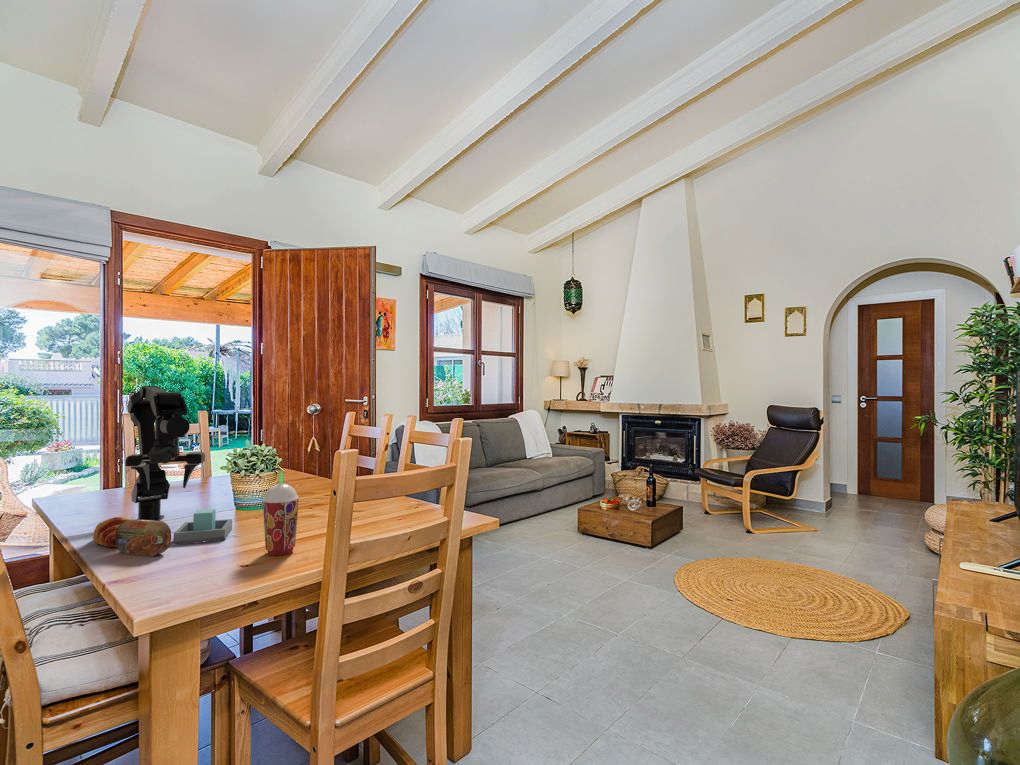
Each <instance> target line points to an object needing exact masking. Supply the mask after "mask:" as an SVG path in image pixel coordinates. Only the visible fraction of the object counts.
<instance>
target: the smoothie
mask: <svg viewBox="0 0 1020 765" xmlns="http://www.w3.org/2000/svg"><path fill="white" fill-rule="evenodd" d="M283 475H284V473H283V472H280V473H279V483H277V484H275V485H272V486H271V487H270V488H269V489H268V490H267V491H266V493H265V495H264V497H263V498H262V505H263V526H264V542H265V543H264V546H265V550H266V551H267V554H268V555H269V556H272V555H273V557H274V555H275V557H278V556H277V555H281V556H286V555H288V554H291V553H292V552H293V550H294V548H295V547H296V540H297V539H296V538H297V537H296V536H297V526H298V525H297V524H298V513H299V499H300V497H299V495H298V493H297V491H296V490H295V488H294V487H293V486H291V485H290V484H287V483H283V482H284V480H283V479H284V478H283V477H284V476H283ZM285 554H286V555H285Z"/></svg>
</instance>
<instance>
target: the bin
mask: <svg viewBox="0 0 1020 765" xmlns="http://www.w3.org/2000/svg"><path fill="white" fill-rule="evenodd" d="M232 530H233V518H228V519H227V518H226V519H215V529H212V530H199V531H193V521H187V522H184V523H183V524H181V525H180V526H179V527H178V528H177V529H176V531H174V532H173V544H177V545H184V544H183V543H189V544H195V543H194V542H201V543H204V542H203V541H213V542H219V541H218V540H225V541H226V539H227V538H228V536H229V535H230V533H231V532H232ZM230 531H231V532H230ZM228 534H229V535H228ZM226 537H227V538H226Z"/></svg>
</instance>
